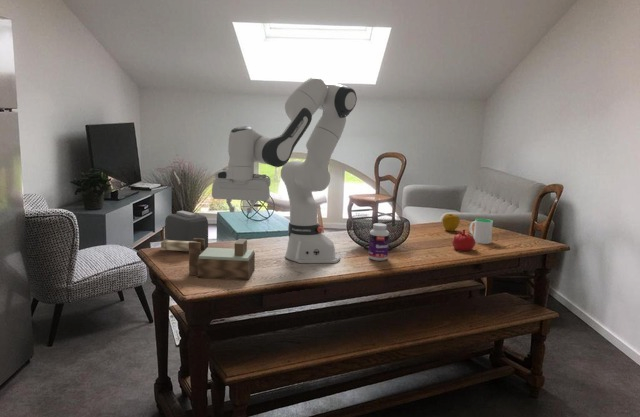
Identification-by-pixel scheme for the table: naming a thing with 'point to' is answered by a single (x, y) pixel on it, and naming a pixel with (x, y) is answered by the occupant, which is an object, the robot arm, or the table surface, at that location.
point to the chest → (217, 265)
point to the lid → (229, 252)
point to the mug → (482, 230)
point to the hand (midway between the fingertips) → (240, 212)
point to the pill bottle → (378, 242)
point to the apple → (450, 222)
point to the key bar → (175, 245)
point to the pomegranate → (463, 241)
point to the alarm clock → (186, 227)
